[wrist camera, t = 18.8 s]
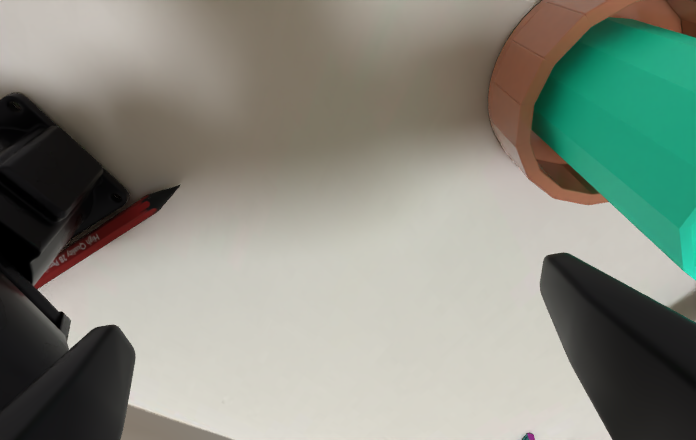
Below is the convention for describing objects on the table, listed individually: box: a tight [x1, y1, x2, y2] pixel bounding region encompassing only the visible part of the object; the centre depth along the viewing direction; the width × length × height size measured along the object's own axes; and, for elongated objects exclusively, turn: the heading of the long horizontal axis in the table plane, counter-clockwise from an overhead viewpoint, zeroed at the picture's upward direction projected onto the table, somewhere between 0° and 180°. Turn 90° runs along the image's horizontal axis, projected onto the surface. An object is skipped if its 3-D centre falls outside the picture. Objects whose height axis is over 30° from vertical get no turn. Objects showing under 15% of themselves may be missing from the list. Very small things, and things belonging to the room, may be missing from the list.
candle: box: [531, 17, 696, 280], centre depth 15 cm, size 6×6×12 cm
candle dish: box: [488, 0, 696, 205], centre depth 19 cm, size 9×9×4 cm
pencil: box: [34, 185, 180, 289], centre depth 23 cm, size 1×14×1 cm, turn 122°
